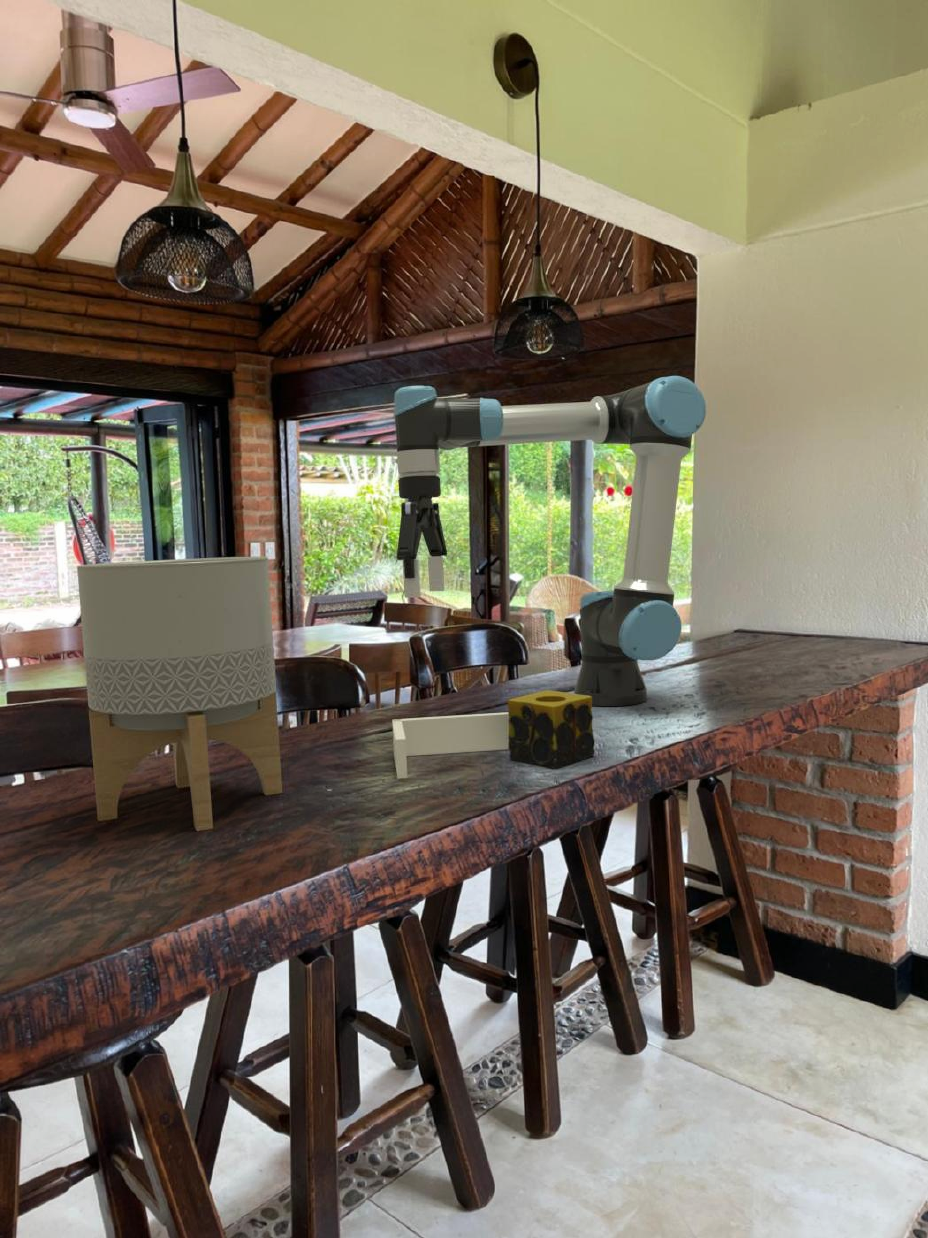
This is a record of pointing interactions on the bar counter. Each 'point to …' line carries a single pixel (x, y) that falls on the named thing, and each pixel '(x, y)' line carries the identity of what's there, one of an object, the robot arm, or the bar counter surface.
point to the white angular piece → (448, 736)
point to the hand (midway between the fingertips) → (425, 594)
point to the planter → (179, 670)
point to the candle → (550, 728)
